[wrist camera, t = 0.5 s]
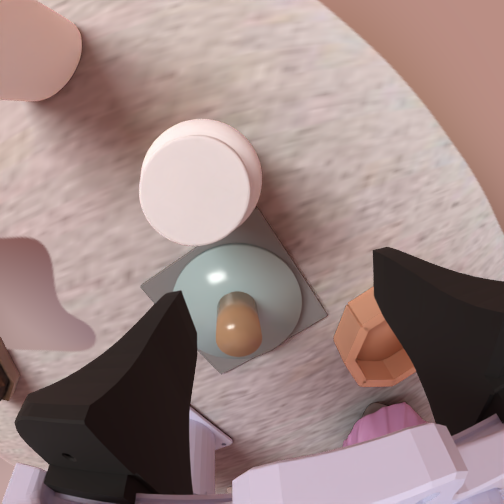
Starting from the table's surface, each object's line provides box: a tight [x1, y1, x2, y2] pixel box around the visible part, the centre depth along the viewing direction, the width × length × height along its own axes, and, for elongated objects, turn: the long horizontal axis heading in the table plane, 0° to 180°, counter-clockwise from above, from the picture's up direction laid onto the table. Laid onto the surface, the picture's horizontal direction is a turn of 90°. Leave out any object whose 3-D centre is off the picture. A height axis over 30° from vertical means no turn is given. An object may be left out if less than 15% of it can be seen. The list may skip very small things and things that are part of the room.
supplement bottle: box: [139, 119, 262, 246], centre depth 15 cm, size 5×5×10 cm
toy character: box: [343, 402, 427, 447], centre depth 21 cm, size 12×10×20 cm
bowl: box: [333, 286, 416, 387], centre depth 24 cm, size 8×8×3 cm
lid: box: [173, 243, 302, 359], centre depth 21 cm, size 9×9×4 cm
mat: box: [141, 207, 327, 374], centre depth 23 cm, size 10×10×1 cm
